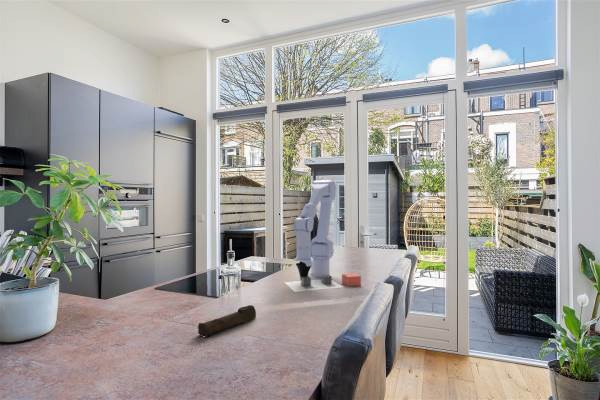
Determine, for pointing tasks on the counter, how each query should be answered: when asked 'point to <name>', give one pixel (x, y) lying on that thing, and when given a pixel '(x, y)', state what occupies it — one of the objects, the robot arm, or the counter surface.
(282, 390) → the counter surface
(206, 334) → the hand tool
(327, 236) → the robot arm
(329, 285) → the breaker panel
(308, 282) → the block
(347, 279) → the coral red cube
